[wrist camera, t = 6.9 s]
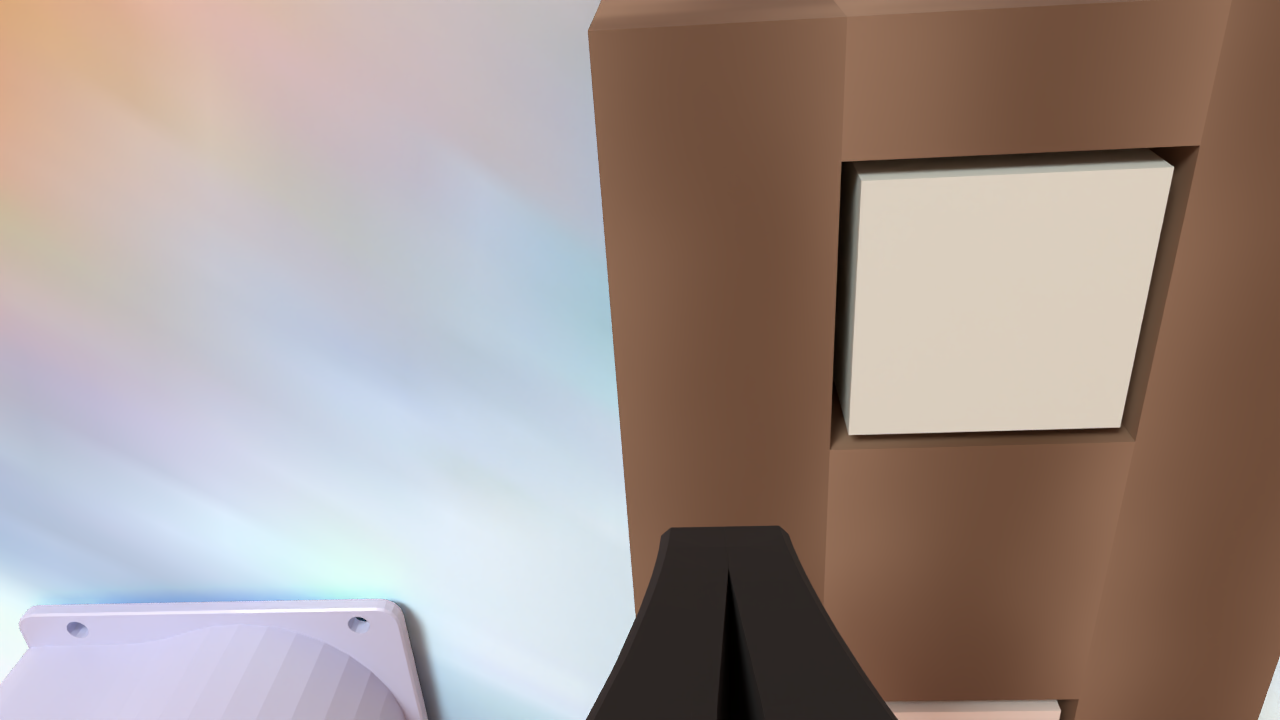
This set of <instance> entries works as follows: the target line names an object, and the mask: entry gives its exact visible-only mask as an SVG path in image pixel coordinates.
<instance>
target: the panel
mask: <svg viewBox="0 0 1280 720" xmlns="http://www.w3.org/2000/svg"><path fill="white" fill-rule="evenodd" d="M588 38H589V51H590V63H591V75H592V87H593V99H594V112H595V124H596V136H597V148H598V161H599V173H600V185H601V197H602V209H603V222H604V234H605V246H606V258H607V271H608V283H609V295H610V307H611V319H612V332H613V344H614V356H615V368H616V381H617V393H618V405H619V417H620V429H621V442H622V454H623V466H624V478H625V491H626V503H627V515H628V527H629V539H630V552H631V564H632V576H633V588H634V601H635V613H636V616H637V614H638V612H639V609H640V606H641V604H642V601H643V598H644V596H645V593H646V590H647V588H648V585H649V582H650V579H651V576H652V573H653V569H654V566H655V562H656V559H657V555H658V551H659V545H660V539H661V535H662V534H664V533H665V532H666V531H667V530H668V529H670V528H671V527H725V526H778V525H779V526H780V527H781V528H783V529H784V530H785V531H786V532H787V533H788V534H789V536H790V539H791V542H792V544H793V547H794V549H795V551H796V554H797V556H798V558H799V560H800V563H801V565H802V567H803V569H804V571H805V573H806V575H807V577H808V579H809V581H810V583H811V585H812V586H813V588H814V590H815V592H816V594H817V595H818V597H819V599H820V601H821V603H822V605H823V606H824V608H825V610H826V612H827V613H828V615H829V617H830V618H831V620H832V622H833V624H834V625H835V627H836V629H837V630H838V632H839V633H840V635H841V636H842V638H843V640H844V641H845V643H846V644H847V646H848V647H849V649H850V651H851V652H852V654H853V655H854V657H855V658H856V660H857V662H858V663H859V665H860V666H861V668H862V669H863V671H864V672H865V674H866V675H867V677H868V678H869V680H870V681H871V683H872V684H873V686H874V687H875V688H876V690H877V691H878V693H879V694H880V696H881V697H882V698H883V700H884V701H885V702H889V701H975V700H1057V702H1058V705H1059V707H1060V709H1061V713H1060V718H1059V720H1258V717H1259V714H1260V712H1261V709H1262V706H1263V703H1264V700H1265V697H1266V694H1267V691H1268V689H1269V686H1270V683H1271V680H1272V677H1273V674H1274V671H1275V668H1276V665H1277V663H1278V660H1279V657H1280V0H601V3H600V5H599V7H598V9H597V12H596V14H595V16H594V18H593V21H592V23H591V25H590V27H589V30H588ZM1130 148H1148V149H1150V150H1151V151H1152V152H1154V153H1155V154H1156V155H1158V156H1159V157H1161V158H1162V159H1163V160H1165V161H1166V162H1168V163H1169V164H1170V165H1172V166H1173V167H1174V171H1173V176H1172V180H1171V185H1170V190H1169V195H1168V200H1167V204H1166V209H1165V214H1164V219H1163V224H1162V228H1161V233H1160V238H1159V243H1158V248H1157V252H1156V257H1155V262H1154V267H1153V272H1152V276H1151V281H1150V286H1149V291H1148V296H1147V300H1146V305H1145V310H1144V315H1143V320H1142V324H1141V329H1140V334H1139V339H1138V344H1137V348H1136V353H1135V358H1134V363H1133V368H1132V372H1131V377H1130V382H1129V387H1128V392H1127V396H1126V401H1125V406H1124V411H1123V416H1122V420H1121V425H1120V427H1117V428H1082V429H1046V430H1011V431H976V432H940V433H905V434H870V435H848V431H847V427H846V423H845V420H844V416H843V412H842V408H841V405H840V401H839V397H838V393H837V390H836V386H835V382H834V378H833V358H834V333H835V308H836V283H837V258H838V234H839V209H840V184H841V162H844V161H866V160H888V159H910V158H932V157H954V156H976V155H998V154H1020V153H1042V152H1064V151H1086V150H1108V149H1130Z"/></svg>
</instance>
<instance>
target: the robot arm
mask: <svg viewBox="0 0 1280 720" xmlns="http://www.w3.org/2000/svg"><path fill="white" fill-rule="evenodd" d="M355 617H361V618H364V619H365V620H367V621H366V622H365V621H360V620H358V619H357V618H355ZM19 628H20V631H21V633H22V635H23V637H24V639H25V641H26V643H27V645H28V647H29V649H28V650H27V651H26V652H25V654H24V655H23V656H22V657H21V659H20V660H19V661H18V662H17V664H16V665H15V666H14V668H13V669H12V670H11V671H10V673H9V674H8V675H7V676H6V678H5V679H4V680H3V682H2V683H1V684H0V720H428V717H427V713H426V709H425V704H424V700H423V696H422V691H421V687H420V683H419V678H418V674H417V670H416V666H415V661H414V657H413V653H412V648H411V644H410V640H409V636H408V631H407V627H406V623H405V618H404V614H403V612H402V610H401V608H400V607H399V606H398V605H396V604H395V603H394V602H391V601H389V600H385V599H340V600H286V601H233V602H179V603H125V604H71V605H37V606H32V607H31V608H29V609H28V610H27V611H26V612H25V614H24V615H23V616H22V617H21V618H20V621H19ZM586 720H898V719H897V718H896V716H895V715H894V713H893V712H892V711H891V709H890V708H889V707H888V705H887V704H886V703H885V701H884V700H883V698H882V697H881V696H880V694H879V693H878V691H877V690H876V688H875V687H874V686H873V684H872V683H871V681H870V680H869V678H868V677H867V675H866V674H865V672H864V671H863V669H862V668H861V666H860V665H859V663H858V662H857V660H856V658H855V657H854V655H853V654H852V652H851V651H850V649H849V647H848V646H847V644H846V643H845V641H844V640H843V638H842V636H841V635H840V633H839V632H838V630H837V629H836V627H835V625H834V624H833V622H832V620H831V618H830V617H829V615H828V613H827V612H826V610H825V608H824V606H823V605H822V603H821V601H820V599H819V597H818V595H817V594H816V592H815V590H814V588H813V586H812V585H811V583H810V581H809V579H808V577H807V575H806V573H805V571H804V569H803V567H802V565H801V563H800V560H799V558H798V556H797V554H796V551H795V549H794V547H793V544H792V542H791V539H790V536H789V534H788V533H787V532H786V531H785V530H784V529H783V528H781V527H780V526H779V525H778V526H725V527H671V528H670V529H668V530H667V531H666V532H665V533H664V534H662V535H661V539H660V545H659V551H658V555H657V559H656V562H655V566H654V569H653V573H652V576H651V579H650V582H649V585H648V588H647V590H646V593H645V596H644V598H643V601H642V604H641V606H640V609H639V612H638V614H637V616H636V619H635V621H634V623H633V625H632V628H631V630H630V632H629V634H628V637H627V639H626V641H625V643H624V646H623V648H622V650H621V652H620V655H619V657H618V659H617V661H616V663H615V665H614V667H613V670H612V672H611V674H610V675H609V677H608V679H607V681H606V683H605V685H604V687H603V689H602V690H601V692H600V694H599V696H598V698H597V700H596V702H595V704H594V706H593V707H592V709H591V711H590V713H589V715H588V717H587V719H586Z"/></svg>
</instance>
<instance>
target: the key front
mask: <svg viewBox="0 0 1280 720" xmlns="http://www.w3.org/2000/svg"><path fill="white" fill-rule="evenodd" d="M1173 171H1174V167H1173V166H1172V165H1170V164H1169V163H1168V162H1166V161H1165V160H1163V159H1162V158H1161V157H1159V156H1158V155H1156V154H1155V153H1154V152H1152V151H1151V150H1150V149H1148V148H1130V149H1108V150H1086V151H1064V152H1042V153H1020V154H998V155H976V156H954V157H932V158H910V159H888V160H866V161H844V162H841V184H840V209H839V234H838V258H837V283H836V308H835V333H834V358H833V378H834V382H835V386H836V390H837V393H838V397H839V401H840V405H841V408H842V412H843V416H844V420H845V423H846V427H847V431H848V435H870V434H905V433H940V432H976V431H1011V430H1046V429H1082V428H1117V427H1120V425H1121V420H1122V416H1123V411H1124V406H1125V401H1126V396H1127V392H1128V387H1129V382H1130V377H1131V372H1132V368H1133V363H1134V358H1135V353H1136V348H1137V344H1138V339H1139V334H1140V329H1141V324H1142V320H1143V315H1144V310H1145V305H1146V300H1147V296H1148V291H1149V286H1150V281H1151V276H1152V272H1153V267H1154V262H1155V257H1156V252H1157V248H1158V243H1159V238H1160V233H1161V228H1162V224H1163V219H1164V214H1165V209H1166V204H1167V200H1168V195H1169V190H1170V185H1171V180H1172V176H1173Z"/></svg>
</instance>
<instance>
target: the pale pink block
mask: <svg viewBox="0 0 1280 720" xmlns="http://www.w3.org/2000/svg"><path fill="white" fill-rule="evenodd" d="M885 703H886V704H887V705H888V707H889V708H890V709H891V711H892V712H893V713H894V715H895V716H896V718H897V719H898V720H1059V718H1060V713H1061V709H1060V707H1059V705H1058V702H1057V700H975V701H889V702H885Z"/></svg>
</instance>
